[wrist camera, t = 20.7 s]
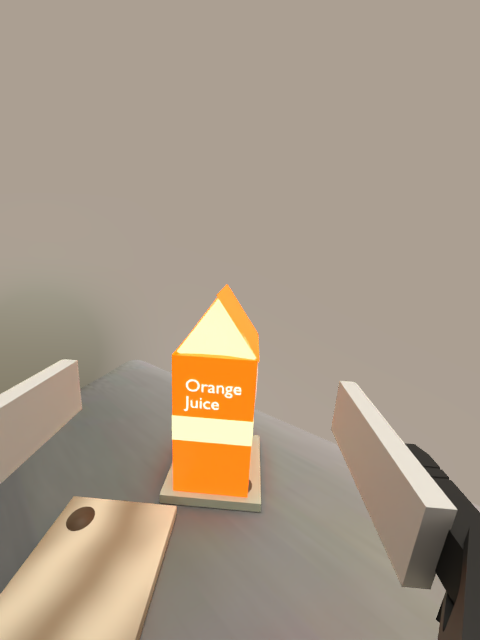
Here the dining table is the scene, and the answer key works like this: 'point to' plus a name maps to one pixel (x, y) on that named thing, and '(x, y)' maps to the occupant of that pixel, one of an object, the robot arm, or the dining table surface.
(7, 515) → the dining table surface
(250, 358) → the orange juice
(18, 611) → the tile one
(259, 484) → the tile two
